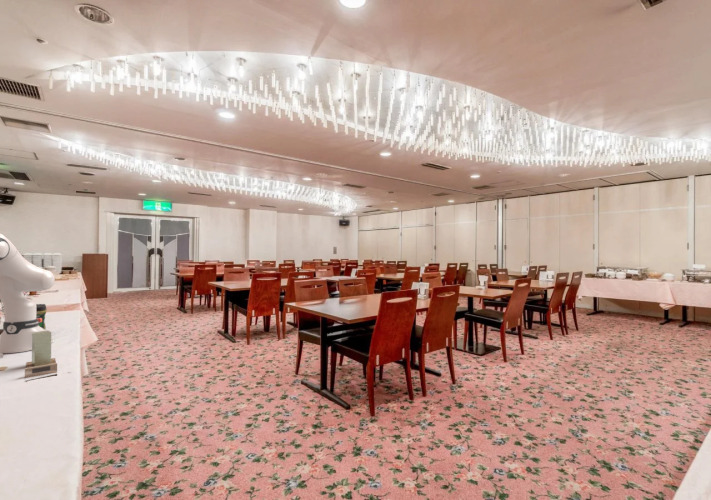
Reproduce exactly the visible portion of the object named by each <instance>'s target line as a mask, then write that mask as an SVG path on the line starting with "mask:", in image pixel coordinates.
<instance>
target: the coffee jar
mask: <svg viewBox="0 0 711 500" xmlns="http://www.w3.org/2000/svg"><path fill="white" fill-rule="evenodd" d="M36 305H37V306H36V318H42V322H39V326H40V327H41V328H43V329H44V330H46V331H47V327H46V313H47V312H48V311H47V305H46V304H45V303H37V304H36Z"/></svg>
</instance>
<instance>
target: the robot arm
mask: <svg viewBox="0 0 711 500" xmlns="http://www.w3.org/2000/svg"><path fill="white" fill-rule="evenodd" d="M55 281H56V278H55V275H54V273H53V272H52V271H50V270H48V269H44V268H41V267H38V266H37V265H35V264H33V263H32V262H30V261H28V260H27V259H26V258H24V256H23V255H22V254H21V253H20V252H19V250H18V248H17V247H16V245H14V244H13V242H11V240H10V239H9V238H7V236H5V235H4V234H2V233H0V300H1V303H2V304H3V311H4V312H3V313H4V321H3V322H2V330H3V331H2V332H1V333H0V359H3V358H4V354H13V353H22V352H29V351H32V333H33V332H40V331H47V329H46V330H44V329H43V328H41V327H40V326H39V322H42V318H36V306H37V305H36V302H35V301H34V300H32V299H29V298H28V297H26V295H25V294H24V293H25V292H27V293H28V292H29V293H30V292H40V291H46V290H50V289H51V288H52V287H53V286H54V284H55ZM54 342H55V339H52V338H51V344H52V343H54Z"/></svg>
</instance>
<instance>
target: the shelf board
mask: <svg viewBox="0 0 711 500" xmlns="http://www.w3.org/2000/svg"><path fill="white" fill-rule="evenodd" d="M25 363H26V364H25V368H24V379H26V380H25V382H28V381H34V380H39V379H44V378H52V377H54V376H55V377H56V376H58V362H56V357H54V358H52V357H51V364H46V365H41V366H36V367H34V366H33V365H32V361H28V362H25ZM49 374H50V375H49ZM44 375H46V376H44ZM38 376H40V377H38ZM33 377H34V378H33ZM35 377H36V378H35ZM28 378H31V379H28ZM27 379H28V380H27Z"/></svg>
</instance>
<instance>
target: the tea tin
mask: <svg viewBox="0 0 711 500" xmlns="http://www.w3.org/2000/svg"><path fill="white" fill-rule="evenodd" d="M51 339H52V331H50V330H48V329H46V331H40V332H33V333H32V350H31V362H32V365H33V366H34V367H36V366H41V365H46V364H51V359H52V343H51Z"/></svg>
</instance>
